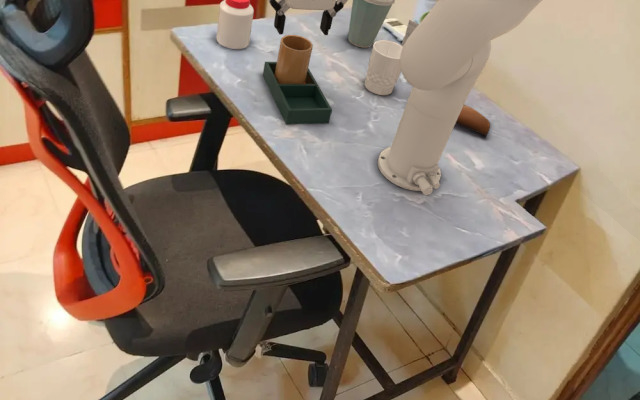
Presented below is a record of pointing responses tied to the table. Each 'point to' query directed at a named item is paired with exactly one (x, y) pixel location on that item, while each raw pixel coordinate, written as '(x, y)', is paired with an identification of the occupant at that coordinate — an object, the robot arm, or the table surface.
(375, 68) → the white cup
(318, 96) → the divided tray
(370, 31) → the disposable coffee cup
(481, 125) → the sunglasses case
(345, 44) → the table surface
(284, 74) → the wooden cup
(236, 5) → the pill bottle
